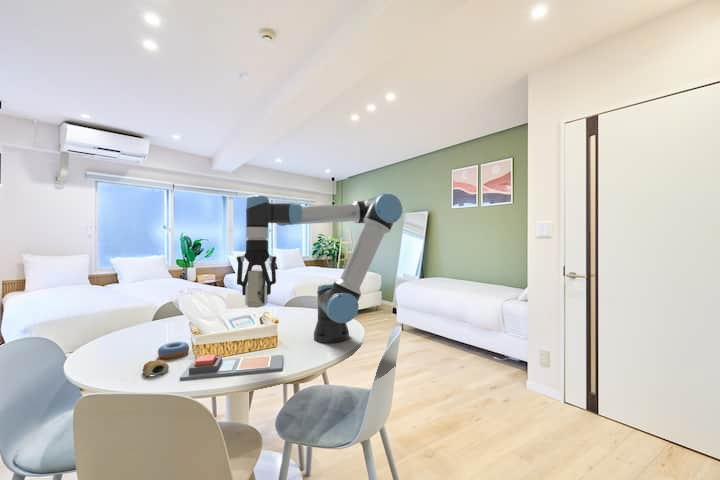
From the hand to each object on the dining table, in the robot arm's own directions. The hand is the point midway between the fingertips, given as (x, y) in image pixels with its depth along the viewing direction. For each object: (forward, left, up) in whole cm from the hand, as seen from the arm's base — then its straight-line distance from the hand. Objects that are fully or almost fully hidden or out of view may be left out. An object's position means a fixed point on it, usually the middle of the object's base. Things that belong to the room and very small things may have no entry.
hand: (256, 303), depth 113 cm
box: (0, 0, -1) cm, 1 cm away
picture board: (+6, +8, -19) cm, 22 cm away
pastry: (+31, +5, -20) cm, 37 cm away
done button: (+15, +8, -17) cm, 24 cm away
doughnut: (+30, -10, -20) cm, 38 cm away
